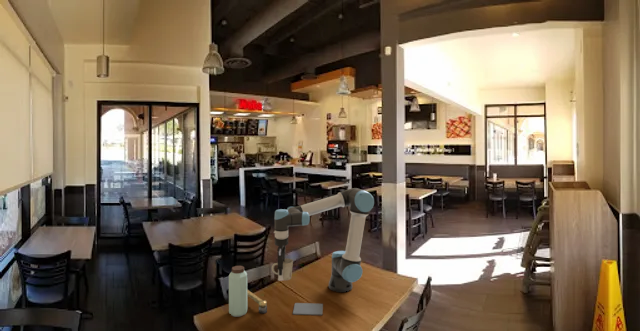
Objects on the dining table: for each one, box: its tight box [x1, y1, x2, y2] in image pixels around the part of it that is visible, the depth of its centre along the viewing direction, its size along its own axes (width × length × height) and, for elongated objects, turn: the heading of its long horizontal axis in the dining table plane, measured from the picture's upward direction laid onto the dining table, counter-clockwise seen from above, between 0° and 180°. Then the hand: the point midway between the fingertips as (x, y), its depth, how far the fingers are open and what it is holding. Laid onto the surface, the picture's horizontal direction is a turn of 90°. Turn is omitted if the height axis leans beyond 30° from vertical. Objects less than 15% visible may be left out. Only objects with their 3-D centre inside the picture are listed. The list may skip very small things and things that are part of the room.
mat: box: [292, 302, 324, 316], centre depth 193 cm, size 16×12×1 cm
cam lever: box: [247, 289, 268, 308], centre depth 197 cm, size 4×26×3 cm, turn 40°
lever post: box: [258, 306, 268, 315], centre depth 189 cm, size 4×4×3 cm
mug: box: [271, 257, 294, 281], centre depth 195 cm, size 8×13×10 cm, turn 78°
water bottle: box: [228, 265, 248, 318], centre depth 187 cm, size 10×10×25 cm
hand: (281, 277), depth 195 cm, fingers closed on mug, 6 cm apart
